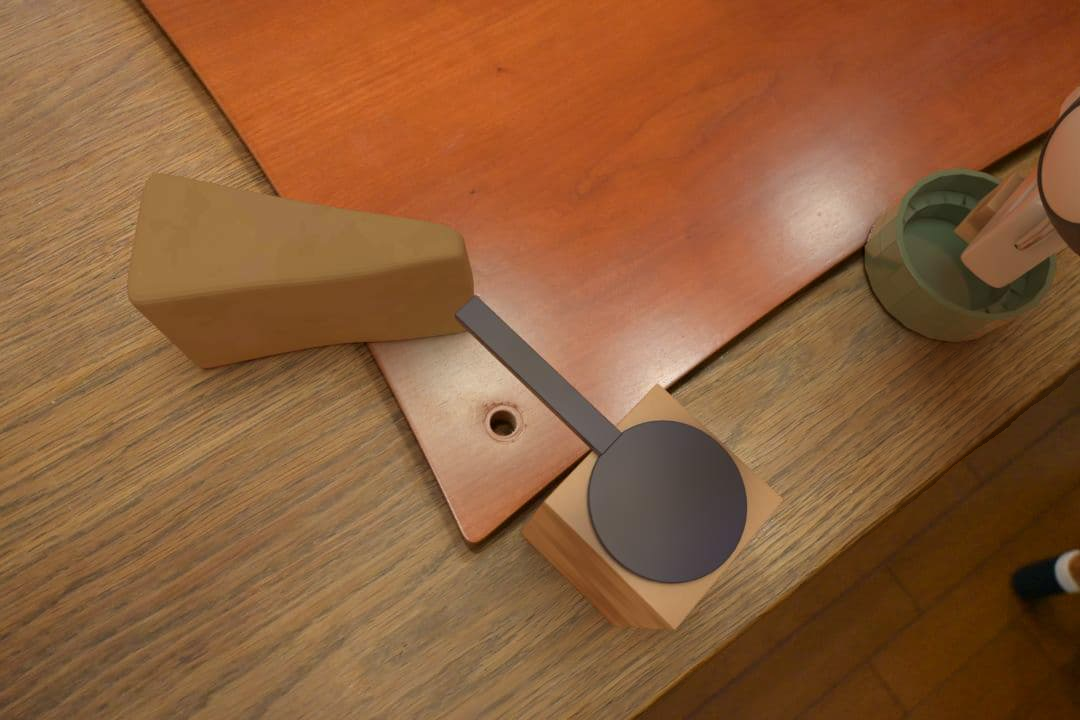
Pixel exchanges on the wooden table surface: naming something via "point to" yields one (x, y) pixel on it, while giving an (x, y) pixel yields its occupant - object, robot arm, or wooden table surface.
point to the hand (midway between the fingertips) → (1000, 225)
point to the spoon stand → (634, 494)
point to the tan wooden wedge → (287, 272)
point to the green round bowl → (944, 262)
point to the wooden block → (987, 208)
